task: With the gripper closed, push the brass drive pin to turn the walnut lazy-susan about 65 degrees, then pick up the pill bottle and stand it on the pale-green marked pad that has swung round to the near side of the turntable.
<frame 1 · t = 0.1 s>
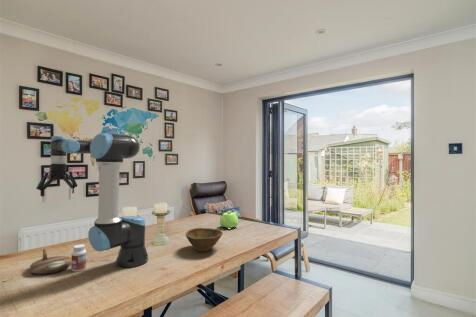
hand: (57, 200, 151), 28 cm above the table, fingers open, 13 cm apart
bowl: (204, 249, 158), on the table
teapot: (228, 227, 208), on the table
turntable: (51, 259, 127), point 5 cm above the table, hinge at 0.0°
susan base: (51, 268, 127), on the table
pill bottle: (78, 269, 127), on the table
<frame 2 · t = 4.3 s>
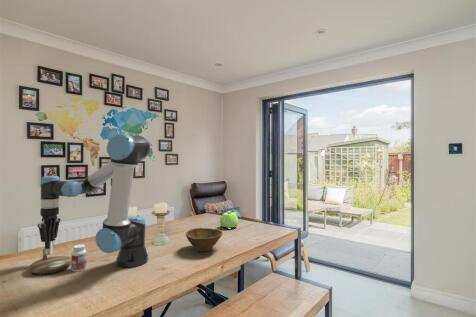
hand: (48, 254, 133), 4 cm above the table, fingers closed
turntable: (51, 259, 127), point 5 cm above the table, hinge at 0.0°, touching gripper
everything else where it was.
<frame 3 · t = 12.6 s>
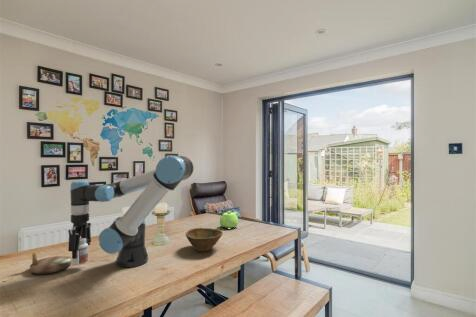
hand: (80, 261, 127), 3 cm above the table, fingers closed on pill bottle, 6 cm apart
turntable: (51, 259, 127), point 5 cm above the table, hinge at 54.5°
pill bottle: (80, 263, 127), point 3 cm above the table, touching gripper
everything else where it was.
when the fingers open (4 cm above the table, at t = 16.2 s): pill bottle stays where it is, resting on turntable.
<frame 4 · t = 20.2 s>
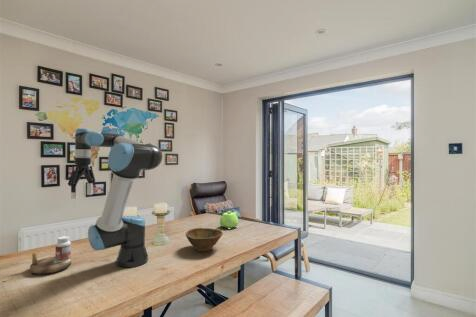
hand: (82, 196, 144), 32 cm above the table, fingers open, 13 cm apart
turntable: (51, 259, 127), point 5 cm above the table, hinge at 54.9°, touching pill bottle
pill bottle: (63, 260, 129), point 3 cm above the table, touching turntable
everything else where it was.
at the end: turntable at +55° (first picture: +0°); pill bottle inside the target area (0.2 cm from its centre), point 2.9 cm above the table; pill bottle tilted 0° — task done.
